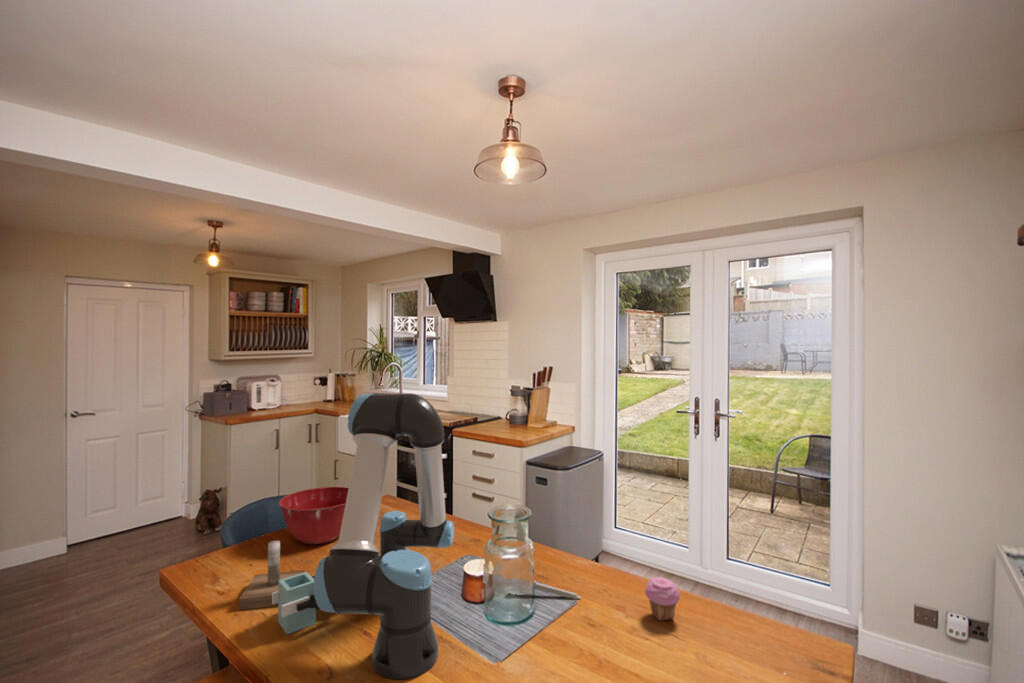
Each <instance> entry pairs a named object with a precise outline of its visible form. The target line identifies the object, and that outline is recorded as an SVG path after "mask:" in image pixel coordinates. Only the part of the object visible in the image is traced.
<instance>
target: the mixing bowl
mask: <svg viewBox="0 0 1024 683" xmlns="http://www.w3.org/2000/svg"><path fill="white" fill-rule="evenodd" d="M348 489H349V487H343V486H325V487H315V488H314V487H313V488H309V489H303V490H299V491H296V492H293V493H290V494H288V495H286V496H283V498H281V499H280V500H279V501H278V505H279V506H280V509H281V513H282V515H283V519H284V522H285V524H286V526H287V528H288V530H289V532H290V533H291V535H292V536H293V537H294V538H295V539H296V540H297V541H299V542H301V543H303V544H305V545H322V544H328V543H330V542H333V541H335V540H336V539H337V538H338V539H339V536H340V531H341V525H342V520H343V515H344V510H345V505H346V500H347V495H348Z"/></svg>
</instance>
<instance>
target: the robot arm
mask: <svg viewBox="0 0 1024 683" xmlns="http://www.w3.org/2000/svg"><path fill="white" fill-rule="evenodd" d="M347 421H348V423H347V429H348V431H349V433H350V435H352V441H353V442H354V443H355V445H356V449H355V453H354V460H353V465H352V470H351V474H350V478H349V479H350V480H349V484H348V488H349V489H348V495H347V500H346V505H345V510H344V515H343V520H342V525H341V531H340V536H339V537H338V541H337V542H336V543H335V544H334V545H332V546H331V547H330V548H329V552H328V555H326V556H325V557H323V558H321V560H320V561H319V563H318V566H316V569H315V572H314V575H312V576H311V575H310V576H311V577H312V578H313V579H314V595H310V600H309V596H307V597H304V598H301V599H299V600H296V601H293V602H290V603H287V604H284V605H282V617H285V616H288V615H290V614H293V613H296V612H299V611H302V610H304V609H307V608H315V610H316V611H320V610H321V612H325V613H332V614H337V615H339V614H341V615H342V614H351V615H352V614H353V615H378V616H379V618H380V619H379V620H380V622H379V623H380V624H379V625H380V626H379V630H378V633H377V636H376V639H375V642H374V646H373V648H372V653H371V654H372V655H371V665H372V668H373V670H374V671H375V673H377V674H378V675H380V677H384V678H387V679H391V680H405V679H411V678H416V677H418V676H420V675H423V674H424V673H426V672H427V671H428V670H430V669H431V668H432V667H433V666H434V665H435V664H436V662H437V661H438V657H439V642H438V641H439V640H438V638H437V635H436V632H435V630H434V626H433V624H432V623H433V622H432V583H433V577H432V566H431V563H430V560H429V559H428V558H427V557H426V556H425V555H423V554H422V553H419V552H417V551H414V550H410V549H409V548H408V547H410V548H411V547H413V548H436V549H439V548H443V549H444V548H445V549H446V548H450V547H452V545H453V542H454V539H455V538H454V536H455V525H454V522H453V521H451V520H447V519H446V518H447V517H446V516H447V514H446V500H445V498H446V497H445V486H444V485H445V482H444V468H443V454H442V453H443V452H442V444H443V443H444V442H445V430H444V425H443V421H442V419H441V417H440V415H439V414H438V411H437V409H435V408H434V406H433V405H432V404H431V402H429V401H428V400H427V399H426V398H424V397H423V396H421V395H418V394H416V393H382V392H381V393H378V392H372V393H362V394H359V396H357V397H355V399H354V400H353V402H352V404H351V406H350V408H349V411H348V416H347ZM406 436H407V437H409V443H410V446H412V447H413V449H414V459H415V460H414V461H415V471H416V473H415V474H416V484H417V496H418V497H417V498H418V507H419V519H407V516H406V512H403V511H400V510H392V511H388V512H385V513H384V514H382V515H381V518H380V526H379V527H380V529H379V548H378V547H377V546H376V545H375V542H376V536H377V529H378V523H379V516H380V512H381V510H380V509H381V505H382V504H381V503H382V498H383V491H384V487H385V479H386V473H387V466H388V460H389V455H390V449H391V448H393V447H395V446H396V445H397V439H398V437H406ZM276 603H278V591H277V592H274V593H272V604H276Z"/></svg>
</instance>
